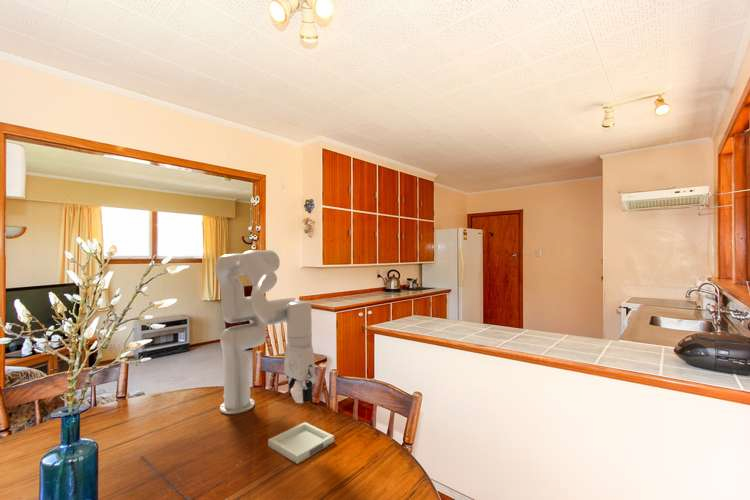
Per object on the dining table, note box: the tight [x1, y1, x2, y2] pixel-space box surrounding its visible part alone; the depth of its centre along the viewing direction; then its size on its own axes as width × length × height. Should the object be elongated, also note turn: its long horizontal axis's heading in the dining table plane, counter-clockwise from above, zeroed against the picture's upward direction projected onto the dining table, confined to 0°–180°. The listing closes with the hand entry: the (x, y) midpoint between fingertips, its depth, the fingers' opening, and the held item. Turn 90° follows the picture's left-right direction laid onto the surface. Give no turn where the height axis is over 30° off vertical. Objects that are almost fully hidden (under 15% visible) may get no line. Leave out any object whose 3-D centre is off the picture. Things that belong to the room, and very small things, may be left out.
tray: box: [267, 421, 335, 464], centre depth 111 cm, size 15×14×2 cm
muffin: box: [290, 380, 304, 404], centre depth 111 cm, size 6×6×7 cm
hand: (300, 397), depth 111 cm, fingers closed on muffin, 6 cm apart
